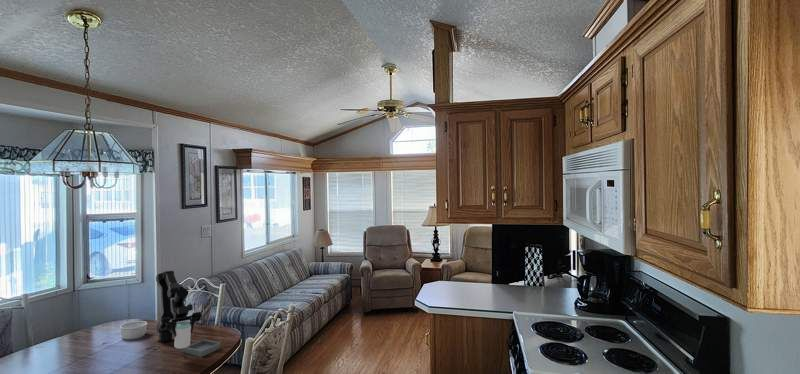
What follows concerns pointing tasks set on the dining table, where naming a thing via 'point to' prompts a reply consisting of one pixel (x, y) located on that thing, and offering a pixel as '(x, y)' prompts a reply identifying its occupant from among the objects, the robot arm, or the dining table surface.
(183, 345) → the can
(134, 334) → the ramekin
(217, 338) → the dining table surface
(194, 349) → the bin
